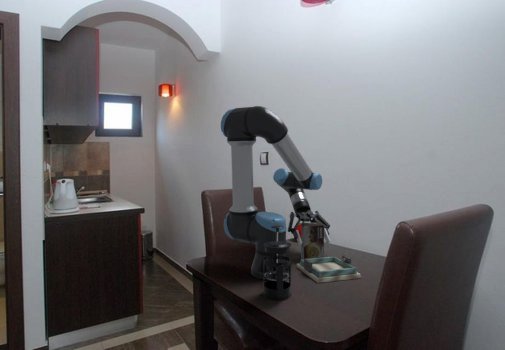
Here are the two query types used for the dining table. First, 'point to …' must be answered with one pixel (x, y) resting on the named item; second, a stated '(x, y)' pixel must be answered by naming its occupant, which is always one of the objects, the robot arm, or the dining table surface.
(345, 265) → the tray
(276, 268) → the french press
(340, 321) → the dining table surface
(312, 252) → the coffee box
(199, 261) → the dining table surface
